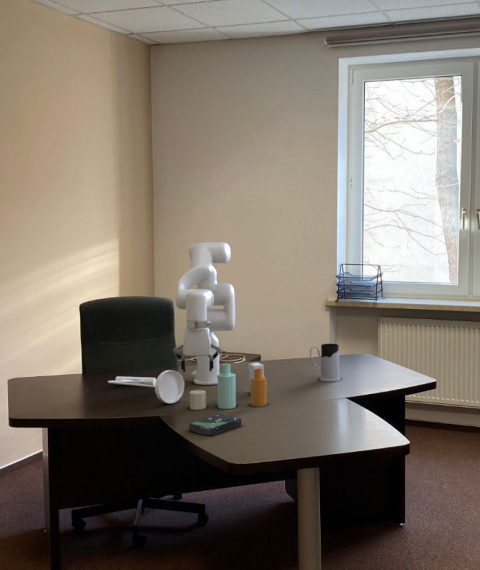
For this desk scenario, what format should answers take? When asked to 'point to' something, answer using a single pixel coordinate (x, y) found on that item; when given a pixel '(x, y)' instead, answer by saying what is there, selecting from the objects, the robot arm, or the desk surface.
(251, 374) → the cosmetic box
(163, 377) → the desk lamp
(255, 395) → the amber bottle
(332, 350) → the glass holder
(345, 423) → the desk surface
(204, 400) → the cream short cylinder
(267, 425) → the desk surface
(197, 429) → the disk drive
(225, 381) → the bottle
